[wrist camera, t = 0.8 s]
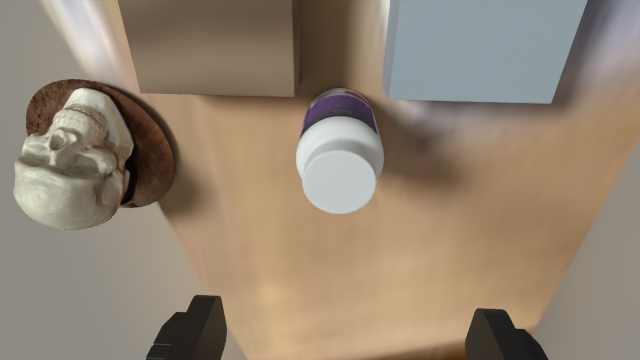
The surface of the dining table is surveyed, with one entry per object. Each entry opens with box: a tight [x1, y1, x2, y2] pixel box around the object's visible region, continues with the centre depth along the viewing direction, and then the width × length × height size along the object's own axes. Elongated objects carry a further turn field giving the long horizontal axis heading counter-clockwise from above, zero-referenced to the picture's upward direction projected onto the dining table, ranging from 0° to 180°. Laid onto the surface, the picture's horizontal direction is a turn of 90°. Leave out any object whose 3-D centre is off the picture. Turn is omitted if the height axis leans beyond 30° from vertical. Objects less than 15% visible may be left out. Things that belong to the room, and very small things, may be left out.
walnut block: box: [118, 0, 301, 97], centre depth 21 cm, size 10×10×4 cm
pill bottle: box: [296, 88, 384, 214], centre depth 22 cm, size 5×5×10 cm
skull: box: [14, 79, 174, 230], centre depth 28 cm, size 12×10×10 cm
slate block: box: [382, 0, 588, 104], centre depth 21 cm, size 10×10×4 cm
